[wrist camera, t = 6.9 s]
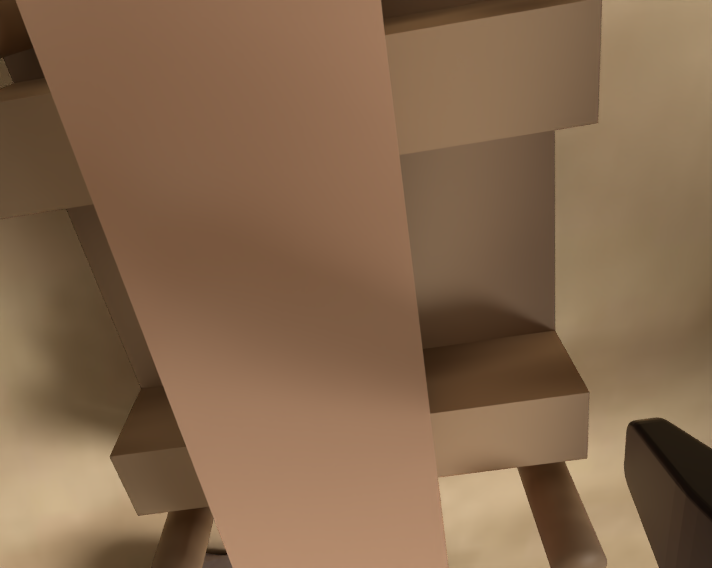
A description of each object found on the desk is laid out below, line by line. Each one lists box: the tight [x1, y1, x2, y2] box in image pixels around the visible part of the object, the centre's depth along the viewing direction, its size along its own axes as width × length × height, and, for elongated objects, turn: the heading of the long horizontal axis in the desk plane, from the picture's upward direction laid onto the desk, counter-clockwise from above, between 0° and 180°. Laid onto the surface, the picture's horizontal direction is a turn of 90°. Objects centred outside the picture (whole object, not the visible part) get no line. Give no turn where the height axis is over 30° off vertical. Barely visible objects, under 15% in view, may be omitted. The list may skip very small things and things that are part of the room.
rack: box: [0, 0, 607, 568], centre depth 13 cm, size 11×14×5 cm
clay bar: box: [16, 0, 449, 568], centre depth 11 cm, size 14×4×4 cm, turn 9°
